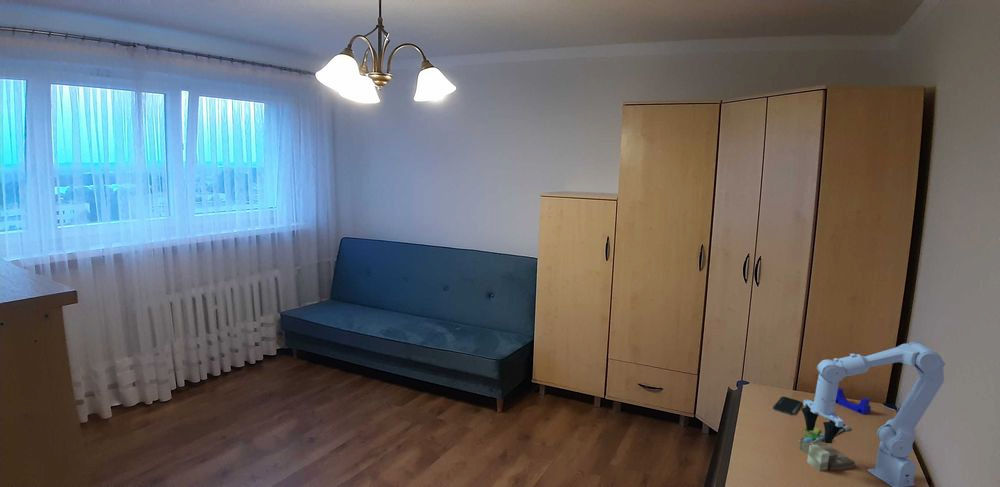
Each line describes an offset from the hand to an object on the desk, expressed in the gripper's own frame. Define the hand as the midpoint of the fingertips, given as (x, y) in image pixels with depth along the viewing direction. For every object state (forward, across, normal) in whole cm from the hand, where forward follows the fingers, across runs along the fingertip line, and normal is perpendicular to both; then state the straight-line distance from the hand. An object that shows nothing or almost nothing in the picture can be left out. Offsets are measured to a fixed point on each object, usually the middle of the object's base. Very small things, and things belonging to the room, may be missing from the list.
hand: (818, 436), depth 171 cm
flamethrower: (+10, -17, +18) cm, 26 cm away
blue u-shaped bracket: (+10, -35, +48) cm, 60 cm away
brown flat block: (+10, -3, +7) cm, 12 cm away
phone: (+10, -39, +21) cm, 45 cm away
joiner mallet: (+10, +1, +3) cm, 10 cm away
